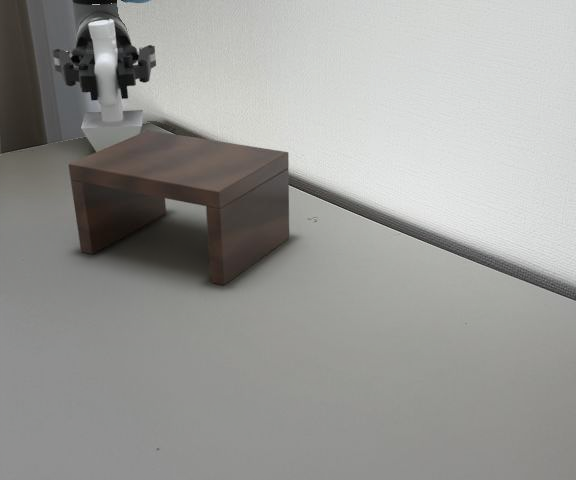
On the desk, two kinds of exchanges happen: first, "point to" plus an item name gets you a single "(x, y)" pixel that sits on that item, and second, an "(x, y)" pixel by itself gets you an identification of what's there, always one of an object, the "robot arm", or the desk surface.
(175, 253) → the desk surface
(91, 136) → the figurine
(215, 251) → the shelf
